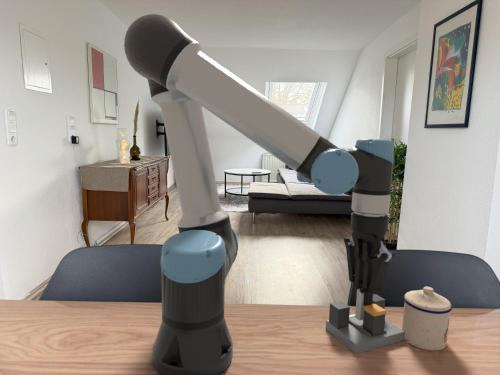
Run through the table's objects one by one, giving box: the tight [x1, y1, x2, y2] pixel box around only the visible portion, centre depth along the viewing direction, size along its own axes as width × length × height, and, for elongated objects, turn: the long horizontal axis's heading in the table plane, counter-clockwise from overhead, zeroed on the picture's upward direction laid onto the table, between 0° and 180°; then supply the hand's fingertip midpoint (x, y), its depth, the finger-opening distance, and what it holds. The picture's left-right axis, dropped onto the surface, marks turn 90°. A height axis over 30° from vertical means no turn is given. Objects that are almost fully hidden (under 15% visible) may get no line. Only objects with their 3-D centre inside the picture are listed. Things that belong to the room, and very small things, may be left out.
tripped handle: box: [363, 304, 387, 336], centre depth 73 cm, size 3×3×5 cm
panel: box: [325, 293, 405, 355], centre depth 75 cm, size 13×10×6 cm
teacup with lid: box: [401, 286, 453, 352], centre depth 75 cm, size 12×9×12 cm
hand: (362, 317), depth 76 cm, fingers closed
